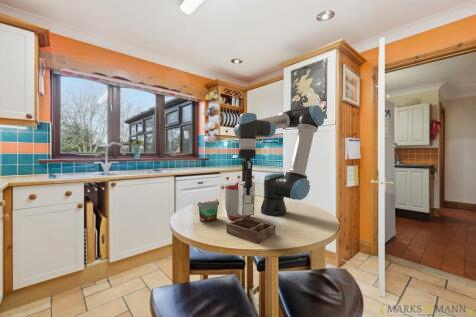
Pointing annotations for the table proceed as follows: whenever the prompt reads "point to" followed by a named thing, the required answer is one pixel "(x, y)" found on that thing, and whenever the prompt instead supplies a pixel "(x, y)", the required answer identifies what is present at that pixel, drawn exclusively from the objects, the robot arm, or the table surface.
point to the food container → (208, 211)
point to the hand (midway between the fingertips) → (246, 200)
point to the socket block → (251, 229)
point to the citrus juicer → (232, 202)
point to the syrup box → (243, 208)
